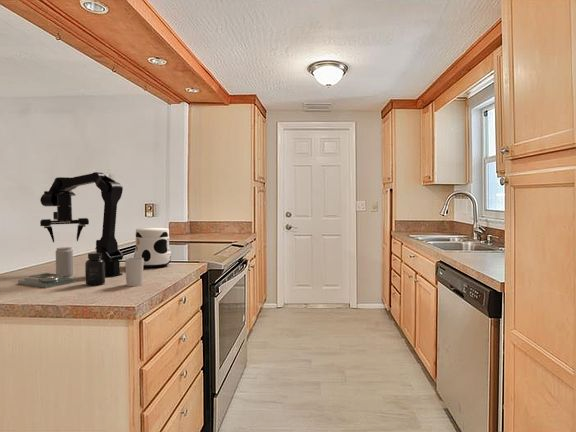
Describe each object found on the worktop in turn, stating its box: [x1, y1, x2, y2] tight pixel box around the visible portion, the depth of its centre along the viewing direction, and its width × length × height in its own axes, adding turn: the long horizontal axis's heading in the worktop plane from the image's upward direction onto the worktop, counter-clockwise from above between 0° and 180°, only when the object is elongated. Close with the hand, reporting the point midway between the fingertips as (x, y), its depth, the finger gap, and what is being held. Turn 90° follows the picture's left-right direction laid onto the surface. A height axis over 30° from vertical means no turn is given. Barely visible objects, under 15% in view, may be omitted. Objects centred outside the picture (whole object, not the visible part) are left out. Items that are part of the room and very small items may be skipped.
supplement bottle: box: [84, 251, 106, 287], centre depth 163 cm, size 7×7×12 cm
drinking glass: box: [124, 256, 144, 287], centre depth 163 cm, size 7×7×10 cm
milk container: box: [133, 227, 172, 268], centre depth 207 cm, size 17×17×18 cm
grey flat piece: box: [17, 272, 76, 289], centre depth 165 cm, size 16×12×3 cm
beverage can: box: [55, 246, 74, 278], centre depth 179 cm, size 6×6×12 cm
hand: (65, 241), depth 188 cm, fingers open, 9 cm apart
